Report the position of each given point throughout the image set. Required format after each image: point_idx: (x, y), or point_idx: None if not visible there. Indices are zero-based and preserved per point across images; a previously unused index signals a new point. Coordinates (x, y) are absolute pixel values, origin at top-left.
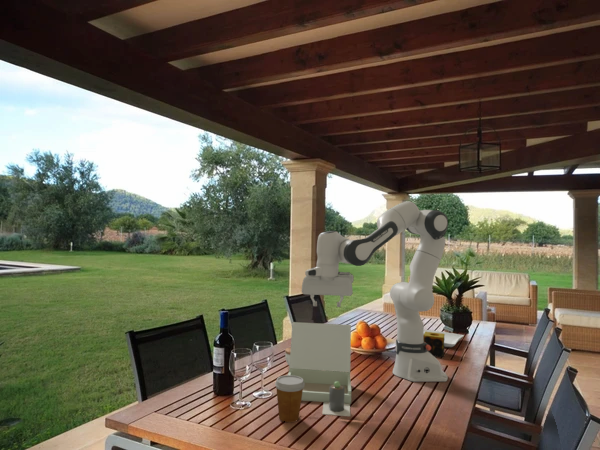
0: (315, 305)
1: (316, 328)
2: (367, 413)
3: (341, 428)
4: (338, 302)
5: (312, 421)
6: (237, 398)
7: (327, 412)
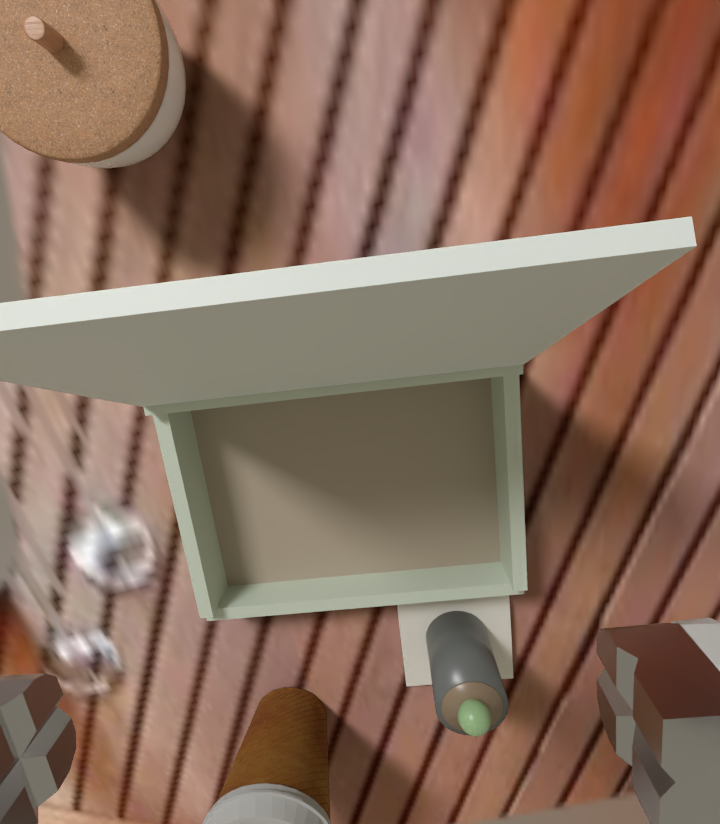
0: (41, 772)
1: (204, 329)
2: (579, 619)
3: (482, 741)
4: (715, 804)
5: (378, 719)
6: (39, 617)
7: (424, 674)
